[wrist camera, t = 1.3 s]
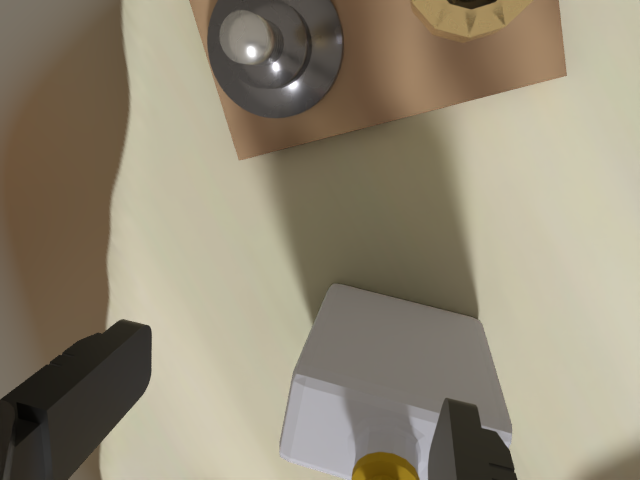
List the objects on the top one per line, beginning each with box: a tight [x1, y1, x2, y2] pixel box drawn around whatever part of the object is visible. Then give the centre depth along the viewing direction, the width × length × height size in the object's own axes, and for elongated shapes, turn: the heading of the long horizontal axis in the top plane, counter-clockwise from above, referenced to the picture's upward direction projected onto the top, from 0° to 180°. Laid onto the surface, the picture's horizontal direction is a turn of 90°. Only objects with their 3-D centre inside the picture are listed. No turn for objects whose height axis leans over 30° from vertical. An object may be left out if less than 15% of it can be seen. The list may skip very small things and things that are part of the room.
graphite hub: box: [207, 0, 344, 118], centre depth 27 cm, size 9×9×6 cm
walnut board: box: [189, 0, 567, 160], centre depth 29 cm, size 22×13×2 cm, turn 105°
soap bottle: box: [279, 284, 512, 480], centre depth 26 cm, size 12×7×23 cm, turn 80°
